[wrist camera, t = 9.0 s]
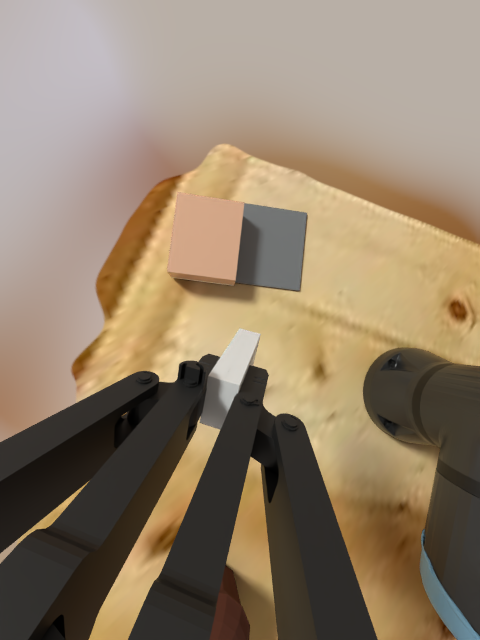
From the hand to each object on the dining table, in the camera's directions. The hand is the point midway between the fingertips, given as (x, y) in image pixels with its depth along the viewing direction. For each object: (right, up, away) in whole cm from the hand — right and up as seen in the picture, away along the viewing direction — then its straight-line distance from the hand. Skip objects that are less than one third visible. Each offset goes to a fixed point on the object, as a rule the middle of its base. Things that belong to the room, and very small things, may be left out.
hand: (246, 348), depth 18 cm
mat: (0, +15, +25) cm, 29 cm away
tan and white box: (-6, +8, +21) cm, 24 cm away
